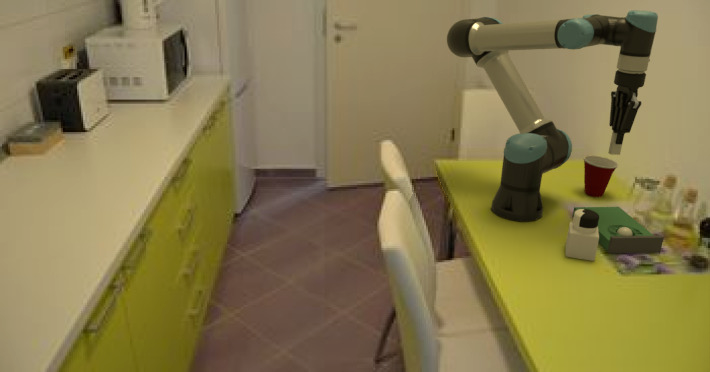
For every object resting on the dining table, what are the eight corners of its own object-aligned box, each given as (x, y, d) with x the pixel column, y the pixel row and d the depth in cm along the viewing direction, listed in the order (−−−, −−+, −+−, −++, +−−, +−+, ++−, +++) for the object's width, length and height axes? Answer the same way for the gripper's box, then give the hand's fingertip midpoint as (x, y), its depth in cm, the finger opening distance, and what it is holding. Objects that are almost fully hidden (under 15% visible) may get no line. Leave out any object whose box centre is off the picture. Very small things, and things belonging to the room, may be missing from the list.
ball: (625, 242, 155) (617, 229, 156) (619, 245, 159) (611, 232, 160) (638, 236, 156) (629, 223, 157) (631, 238, 160) (623, 226, 161)
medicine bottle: (593, 249, 154) (601, 208, 150) (594, 261, 148) (603, 219, 143) (565, 244, 156) (572, 204, 152) (565, 256, 150) (572, 215, 145)
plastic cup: (613, 202, 184) (621, 167, 180) (578, 198, 187) (584, 163, 183) (610, 190, 194) (617, 156, 189) (576, 186, 197) (582, 153, 192)
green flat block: (609, 253, 152) (612, 238, 150) (572, 216, 174) (574, 202, 172) (660, 252, 153) (663, 237, 152) (617, 215, 175) (619, 202, 173)
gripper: (657, 76, 149) (638, 161, 158) (633, 66, 161) (616, 146, 170) (629, 75, 148) (611, 161, 157) (606, 66, 160) (591, 146, 169)
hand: (614, 153), depth 163 cm, fingers closed
